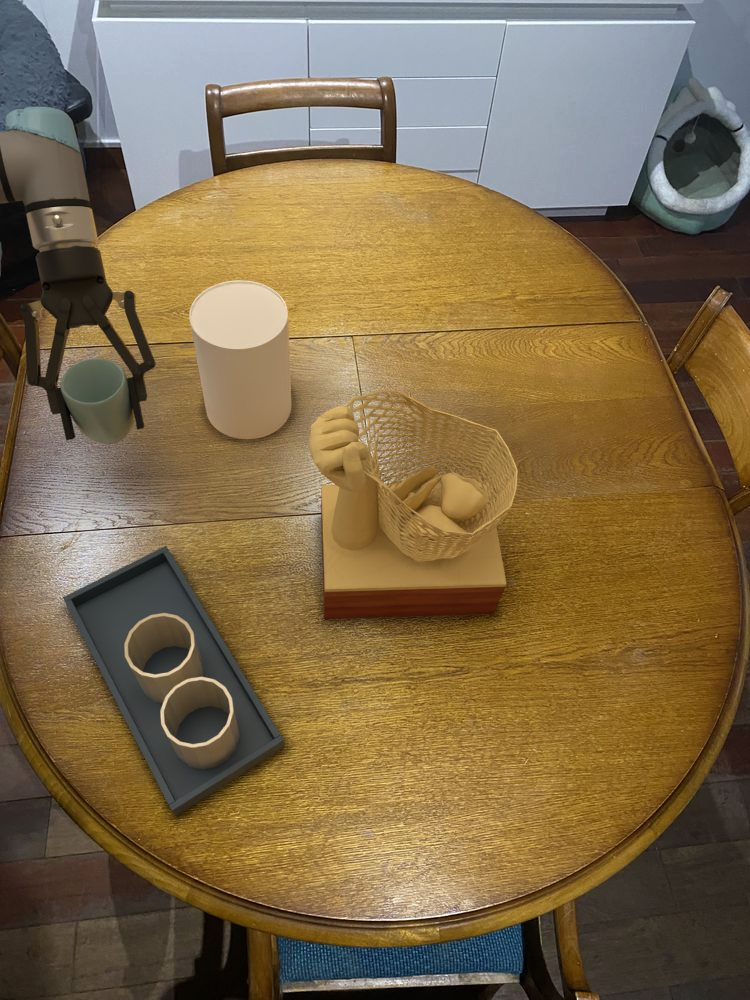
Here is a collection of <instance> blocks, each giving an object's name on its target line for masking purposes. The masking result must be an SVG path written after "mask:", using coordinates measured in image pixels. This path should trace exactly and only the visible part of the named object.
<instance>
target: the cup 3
mask: <svg viewBox="0 0 750 1000" xmlns="http://www.w3.org/2000/svg"><path fill="white" fill-rule="evenodd" d="M208 706H211V707H216V708H221V709H222V710H224V711H225V712H227V713H228V714H229V717H228V720H227V724H226V725H225V726H224V728H223V729H222V730H221V732H220V733H219V734H218V735H217V736H215V737H214V738H212V739H210V740H209V741H207V742H203V743H197V744H190V743H185V742H180V741H179V740H178V739H176V734H177V731H178V728H179V725H180V723H181V722H182V721H183V720H184V718H185V717H186V716H187V715H188V714H189V713H191V712H193V711H194V710H196V709H198V708H202V707H208ZM160 714H161V725H162V727H163V729H164V731H165V733H166V735H167V737H168V739H169V740H170V742H171V744H172V746H173V748H174V750H175V752H176V754H177V755H178V757H179V759H180V760H181V761H182V762H184V763H185V764H186V765H188V766H189V767H192V768H196V769H201V770H205V769H210V768H215V767H218V766H219V765H221V764H222V763H224V762H226V761H227V760H228V759H229V758H230V757H231V756H232V754H233V753H234V752H235V750H236V749H237V746H238V742H239V739H240V729H239V722H238V719H237V715H236V711H235V707H234V704H233V700H232V697H231V695H230V694H229V692H228V690H227V689H226V687H225V686H223V685H222V684H221V683H219V682H218V681H216V680H215V679H210V678H206V677H196V678H190V679H186V680H185V681H183V682H181V683H179V684H178V685H176V686H174V687H173V689H172V690H171V691H170V692H169V693H168V695H167V696H166V697H165V699H164V702H163V705H162V708H161V710H160Z"/></svg>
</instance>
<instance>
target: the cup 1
mask: <svg viewBox="0 0 750 1000" xmlns="http://www.w3.org/2000/svg"><path fill="white" fill-rule="evenodd" d="M127 378H128V377H127V375H126V372H125V370H124V369H123V368H122V366H120V364H118V363H116V362H115V361H113V360H111V359H108V358H103V357H88V358H83V359H80V360H79V361H76V362H75V363H74V364H72V365H71V366H70V367H69V368H68V369H66V371H65V372H64V373H63V374H62V377H61V379H60V384H59V385H60V387H61V392H62V395H63V398H64V400H65V403H66V405H67V408H68V410H69V412H70V414H71V419H72V422H73V423H74V425H75V426H76V428H77V429H78V431H79V432H80V433H81V434H82V435H83V436H84V437H85V438H86V439H88V440H89V441H91V442H93V443H95V444H97V445H105V446H107V445H108V446H110V445H111V446H112V445H115V444H118V443H120V442H122V441H123V440H124V439H126V438H127V437H128V436H129V434H130V433H131V432H132V430H133V428H134V425H135V422H136V421H135V416H134V411H133V406H132V401H131V396H130V391H129V386H128V381H127Z"/></svg>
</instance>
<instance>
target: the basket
mask: <svg viewBox="0 0 750 1000" xmlns="http://www.w3.org/2000/svg"><path fill="white" fill-rule="evenodd" d="M380 394H382V395H385V396H386V397H378V396H379V395H380ZM390 398H395V399H394V400H393V399H390ZM400 398H402V399H400ZM399 399H400V400H399ZM355 401H356V402H357V401H360V402H361V401H362V402H363V403H362V404H360V405H359V406H356V407H354V405H355ZM372 401H376V402H379V403H378V404H377V405H372V404H371V405H370V403H371V402H372ZM385 403H391V404H390V405H389V406H382V405H384V404H385ZM395 404H400V406H399V408H398V407H393V406H394V405H395ZM404 405H405V406H407V408H408V409H409V410H410V411H409V412H407V411H406V410H403V407H404ZM414 408H415V409H417V410H415V409H414ZM364 409H368V410H371V411H369V412H368V413H366V414H364ZM377 410H381V411H382V410H383V412H382V413H375V412H376V411H377ZM358 411H359V418H357V419H355V415H354V413H356V412H358ZM389 411H391V412H392V411H393V412H395V413H393V414H387V413H388V412H389ZM399 413H402V414H403V415H401V416H400V415H398V414H399ZM414 415H415V416H417V417H419V418H420V419H419V418H417V417H415V416H414ZM407 416H408V417H409V418H411V419H408V418H406V417H407ZM371 418H375V419H374V420H373V421H372V422H371ZM382 418H388V419H387V420H381V419H382ZM393 419H397V420H393ZM365 420H367V426H366V427H365V426H364V421H365ZM401 421H404V422H401ZM452 421H453V422H452ZM416 422H417V423H416ZM359 423H360V424H361V428H362V431H361V432H360V427H359V425H358V424H359ZM418 423H419V424H418ZM420 424H421V425H420ZM376 425H379V426H378V427H377V428H376ZM386 425H387V426H386ZM395 425H396V426H395ZM401 426H403V427H401ZM461 427H462V428H461ZM371 428H373V433H371ZM418 428H419V429H418ZM469 428H471V429H472V430H471V429H469ZM387 430H390V431H389V432H387V433H386V434H384V433H385V432H386V431H387ZM395 430H396V432H395V433H393V432H394V431H395ZM481 430H483V431H485V432H483V431H481ZM380 431H382V432H380ZM400 432H403V433H402V434H399V433H400ZM499 432H500V431H498V430H497V429H495V428H491V427H489V426H486V425H483V424H481V423H477V422H474V421H471V420H469V419H465V418H463V417H460V416H457V415H455V414H452V413H449V412H445V411H441V410H437V409H434V408H431V407H429V406H427V405H426V404H424V403H422V402H421V401H419V400H417V399H416V398H415V397H412V396H411V395H408V394H406V393H404V392H401V391H400V390H397V389H379V390H376V391H372V392H369V393H365V394H362V395H359V396H356V397H352V398H351V399H350V400H349V402H347V404H346V405H343V404H342V405H337V406H335V407H333V408H331V409H328V410H326V411H324V412H323V413H322V414H321V415H320V416H319V417H318V418H317V419H316V420H315V421H314V422H313V423H312V424H311V426H310V433H309V444H308V445H309V452H310V458H311V459H312V461H313V462H314V464H315V466H316V468H317V469H318V470H319V472H320V474H321V475H322V476H323V477H325V478H326V479H327V480H329V481H330V482H331V483H332V484H320V485H321V490H320V493H321V497H320V531H321V564H322V565H321V566H322V593H323V595H322V596H323V619H324V620H345V619H346V620H348V619H349V620H350V619H378V618H379V619H380V618H405V617H407V618H408V617H438V616H439V617H441V616H467V615H469V616H470V615H471V616H473V615H494V613H495V611H496V609H497V606H498V604H499V602H500V600H501V597H502V596H503V593H504V591H505V589H506V586H507V579H506V573H505V568H504V562H503V561H504V560H503V557H502V550H501V543H500V539H499V532H498V528H497V527H498V526H499V525H500V524H501V522H503V520H504V519H505V518H506V516H507V515H508V512H509V511H510V510H511V507H512V505H513V502H514V499H515V495H516V492H517V487H518V473H519V472H518V467H517V465H516V462H515V460H514V457H513V454H512V453H511V451H510V448H509V447H508V444H507V443H506V442H505V440H504V438H503V437H502V436H501V434H500V433H499ZM367 433H368V435H367ZM408 433H411V434H408ZM376 435H377V436H376ZM363 436H365V439H366V442H367V444H368V445H367V444H366V443H365V442H364V440H362V438H363ZM482 436H483V437H482ZM386 437H387V438H388V439H386V440H385V441H383V440H384V439H385V438H386ZM394 437H396V439H394V441H391V440H392V439H393V438H394ZM416 437H417V438H416ZM427 437H428V438H427ZM491 437H494V438H493V439H492V438H491ZM379 438H380V439H379ZM401 438H402V439H401ZM400 439H401V440H400ZM373 441H374V442H373ZM437 441H438V442H437ZM408 442H409V443H410V445H407V443H408ZM417 442H419V443H417ZM427 442H428V443H427ZM373 443H374V444H373ZM402 443H403V444H402ZM395 444H397V445H395ZM379 445H380V446H379ZM385 445H388V446H387V447H386V448H384V449H383V448H382V447H384V446H385ZM394 445H395V446H394ZM400 445H401V446H400ZM436 445H437V446H436ZM378 446H379V447H378ZM392 446H394V447H393V448H391V447H392ZM425 446H426V447H425ZM427 446H428V447H427ZM414 447H418V448H420V449H416V448H414ZM381 448H382V449H381ZM402 449H403V450H402ZM408 449H409V450H411V451H407V450H408ZM400 450H402V452H400ZM434 450H439V451H434ZM406 451H407V452H406ZM423 451H427V452H429V453H427V454H426V453H424V452H423ZM386 452H388V453H387V454H386V455H383V454H384V453H386ZM393 452H394V453H393ZM444 452H446V453H447V454H448V455H447V454H446V455H445V454H443V453H444ZM378 453H380V454H378ZM413 453H418V454H420V455H415V454H413ZM452 453H454V454H452ZM504 453H505V454H504ZM408 455H409V456H411V458H407V457H408ZM434 455H437V457H433V456H434ZM395 456H397V458H396V459H395V460H393V458H394V457H395ZM402 456H403V457H402ZM401 457H402V459H401V460H400V458H401ZM423 457H426V458H428V459H424V458H423ZM386 458H388V460H387V461H385V462H383V461H384V460H385V459H386ZM406 458H407V459H406ZM443 458H444V459H443ZM450 458H452V459H453V460H452V459H450ZM457 458H460V459H462V460H463V461H461V460H459V459H457ZM415 459H418V460H420V461H418V462H414V461H413V460H415ZM445 459H446V460H445ZM379 460H380V461H379ZM468 460H470V461H471V462H472V463H470V462H469V461H468ZM431 461H438V462H437V463H432V462H431ZM403 462H405V463H404V465H403V466H401V464H402V463H403ZM397 463H398V464H397ZM408 463H411V464H412V465H410V466H407V464H408ZM423 463H427V464H428V465H429V466H425V467H424V466H422V465H421V464H423ZM449 463H450V464H451V465H453V466H450V465H449ZM389 464H391V465H390V467H389V468H388V469H385V468H386V467H387V465H389ZM396 464H397V467H394V466H395V465H396ZM441 464H444V465H445V466H446V467H441V466H439V465H441ZM457 464H458V465H460V466H458V465H457ZM465 465H466V466H465ZM467 465H468V466H469V467H470V468H468V467H467ZM381 466H383V467H382V468H381V469H380V467H381ZM415 466H417V467H419V469H415V468H413V467H415ZM476 468H479V470H480V471H479V470H477V469H476ZM453 469H457V470H458V471H459V472H460V473H456V472H454V471H453ZM397 470H400V471H399V473H398V474H396V472H397ZM403 470H405V471H404V472H403ZM408 470H409V471H412V472H408ZM446 470H449V471H450V472H448V473H447V472H446ZM462 470H464V471H467V472H468V473H469V474H465V473H464V471H462ZM390 471H391V472H392V474H391V475H389V476H388V474H389V473H390ZM440 471H442V472H443V474H440V473H439V472H440ZM402 472H403V474H402ZM382 473H385V475H384V476H383V477H382ZM475 473H476V475H477V476H476V475H475ZM395 474H396V475H395ZM485 474H486V475H485ZM399 477H400V478H399ZM404 477H405V478H404ZM393 478H394V480H393V481H392V479H393ZM403 478H404V479H403ZM482 478H483V480H482ZM385 479H388V481H387V482H386V483H385ZM402 479H403V480H402ZM391 481H392V482H391ZM495 498H496V499H495Z"/></svg>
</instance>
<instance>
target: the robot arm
mask: <svg viewBox="0 0 750 1000" xmlns="http://www.w3.org/2000/svg"><path fill="white" fill-rule="evenodd" d="M79 144H80V143H79V140H78V137H77V133H76V129H75V125H74V122H73V119H72V118H71V117H70V116H69V115H68V114H67V112H65V111H63V110H61V109H58V108H55V107H49V106H28V107H24V108H17V109H13V110H12V111H10V112H8V113H7V115H5V126H4V131H0V204H8V203H9V204H10V203H16V202H23V206H24V210H25V211H24V212H25V215H26V220H27V225H28V229H29V233H30V239H31V243H32V244H31V245H32V247H33V248H34V249H35V250H37V251H39V252H37V254H36V256H35V261H36V265H37V266H36V267H37V269H38V276H39V280H40V285H41V289H42V290H41V291H42V292H41V295H40V299H39V300H34V301H32V302H29V303H24V302H23V303H20V304H19V305H18V311H19V314H20V316H21V318H22V321H23V323H24V338H25V339H24V340H25V362H26V381H27V384H28V385H29V386H33V387H39V388H42V389H44V390H45V393H46V397H47V402H48V405H49V410H50V413H51V414H52V415H60V419H61V425H62V428H63V433H64V437H65V441H72V440H74V439H75V438H76V433H75V428H74V424H73V423H74V422H73V419H72V417H71V414H70V412H69V410H68V408H67V405H66V403H65V400H64V398H63V395H62V392H61V386H60V387H58V385H59V383H58V382H59V379H60V375H61V374H60V373H61V370H62V364H63V360H64V356H65V351H66V346H67V341H68V338H69V334H70V331H71V329H76V328H78V329H79V328H80V327H84V326H90V327H93V326H98V328H100V330H101V331H102V333H103V334H104V335H105V337H106V338H107V339H108V341H109V342H110V344H111V345H112V347H113V348H114V350H115V351H116V352H117V354H118V356H119V357H120V358H121V360H122V361H123V363H124V364H125V365H126V367H127V369H129V370H128V371H130V373H131V375H132V376H131V377H130V376H129V377H127V381H128V386H129V391H130V396H131V401H132V406H133V411H134V416H135V421H134V422H135V426H136V430H142V429H144V428H145V422H144V417H143V411H142V408H141V402H146V401H148V392H147V387H146V382H145V374H146V373H147V372H149V371H151V370H153V369H154V368H155V367H156V365H157V364H156V360H155V357H154V355H153V352H152V349H151V346H150V344H149V341H148V339H147V336H146V334H145V331H144V329H143V326H142V323H141V321H140V318H139V316H138V315H139V314H138V313H137V309H136V308H137V307H136V306H137V305H136V303H137V302H136V297H137V296H136V294H135V293H134V292H133V291H132V290H126V291H120V290H119V291H117V290H112V288H111V287H110V286H109V284H108V282H107V278H106V272H105V267H104V262H103V257H102V253H101V250H100V249H99V248H98V247H95V245H97V244H98V242H99V239H98V232H97V228H96V222H95V217H94V213H93V209H92V205H91V200H90V194H89V188H88V184H87V177H86V173H85V168H84V162H83V158H82V157H83V156H82V153H81V149H80V145H79ZM2 258H3V249H2V242H0V277H1V274H2V273H1V272H2V269H1V268H2V264H1V261H2ZM113 301H116V303H117V305H118V307H119V308H120V309H123V310H124V313H125V316H126V320H127V321H128V324H129V326H130V330H131V332H132V335H133V337H134V340H135V342H136V345H137V348H138V350H139V353H140V355H141V358H142V361H143V362H142V363H140V364H139V362H138V361H137V360H136V358H135V357H134V355H133V353H132V352H131V351H130V349H129V348H128V346H127V345H126V343H125V341H124V340H123V339H122V337H121V336H120V335H119V333H118V332H117V331H116V329H115V327H114V325H113V324H112V323H111V321H110V319H109V318H108V317H107V315H106V314H107V312H108V310H109V308H110V306H111V304H112V302H113ZM43 310H46V311H47V312H48V313H49V315H51V316H52V317H53V318H54V319H55V328H54V330H53V331H54V332H53V333H54V334H53V339H52V344H51V347H50V353H49V358H48V360H47V361H48V362H47V366H46V371H45V376H42V366H41V365H42V364H41V361H42V360H41V343H40V342H41V341H40V325H39V320H40V319H42V316H43V315H42V311H43Z"/></svg>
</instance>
